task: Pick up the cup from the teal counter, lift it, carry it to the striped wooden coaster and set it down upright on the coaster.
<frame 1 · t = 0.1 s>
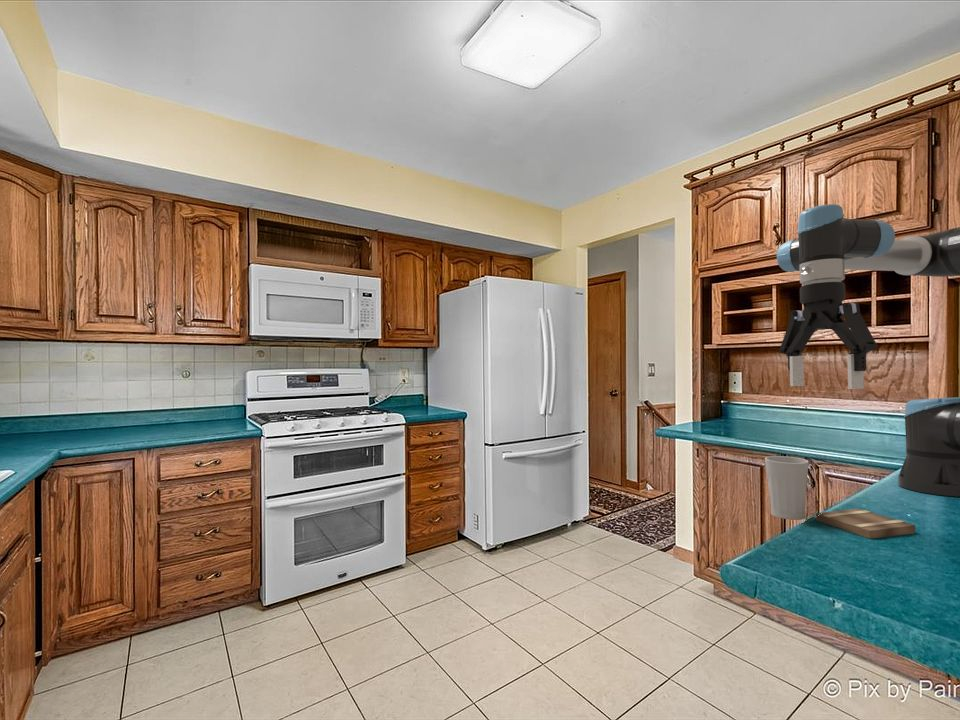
hand: (824, 387, 98), 28 cm above the countertop, fingers open, 13 cm apart
cup: (787, 516, 104), on the countertop
striped wooden coaster: (863, 526, 96), on the countertop
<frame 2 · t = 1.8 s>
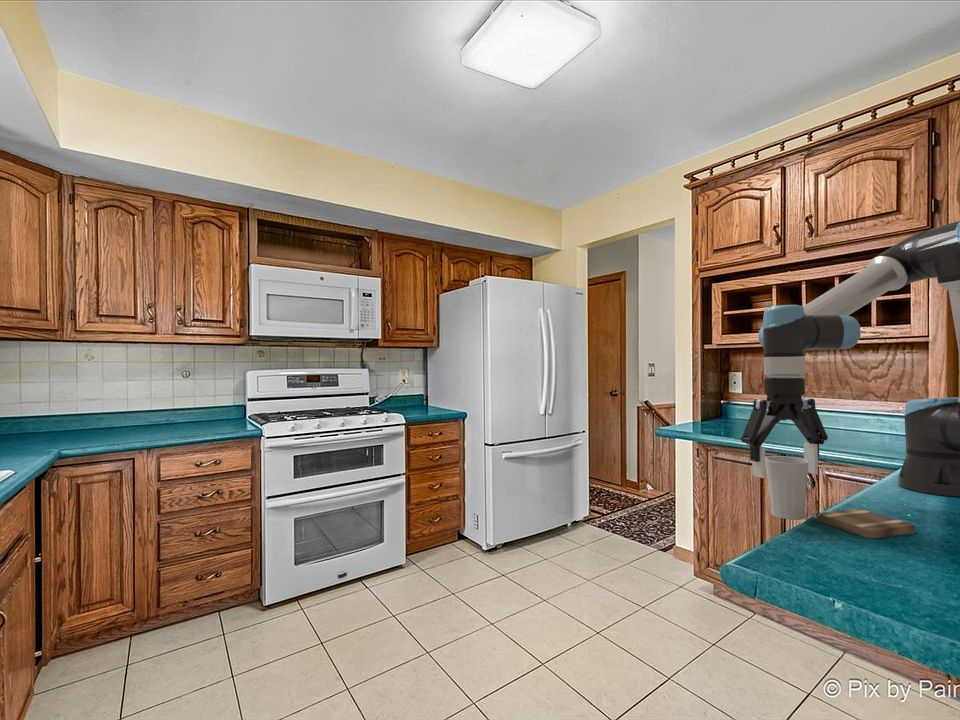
hand: (785, 475, 104), 9 cm above the countertop, fingers open, 13 cm apart
nothing on the countertop moved.
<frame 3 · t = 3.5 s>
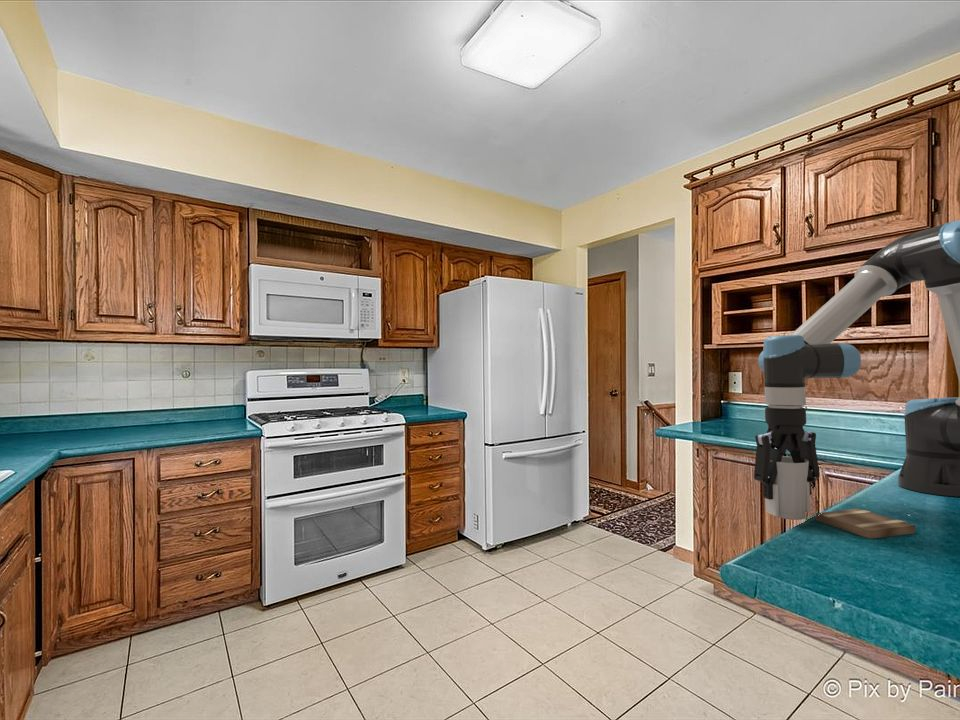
hand: (787, 512, 104), 1 cm above the countertop, fingers closed on cup, 7 cm apart
cup: (788, 516, 104), on the countertop, touching gripper
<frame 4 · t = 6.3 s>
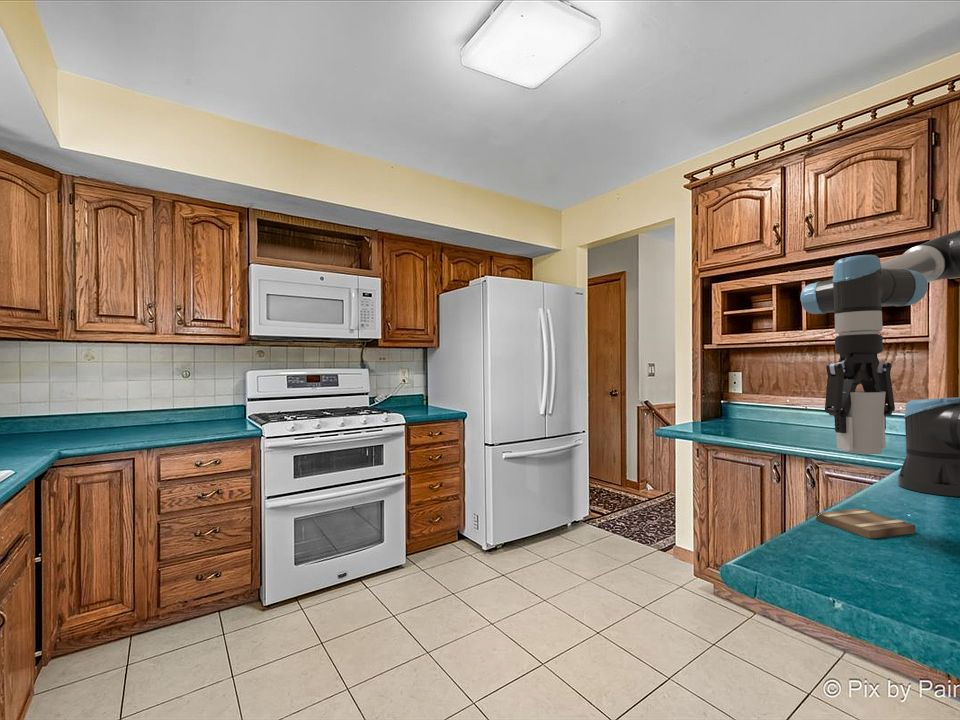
hand: (861, 448, 96), 16 cm above the countertop, fingers closed on cup, 7 cm apart
cup: (861, 452, 96), point 15 cm above the countertop, touching gripper
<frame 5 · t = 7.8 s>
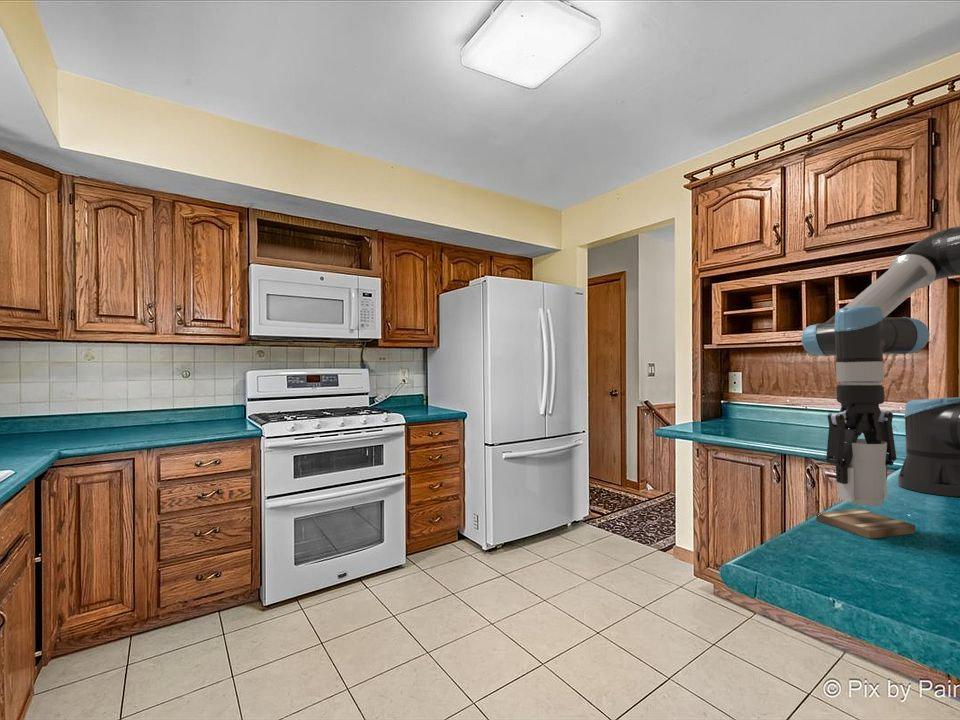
hand: (862, 497, 96), 6 cm above the countertop, fingers closed on cup, 7 cm apart
cup: (862, 502, 96), point 5 cm above the countertop, touching gripper
when the fingers open (4 cm above the countertop, at t = 9.1 s): cup drops 1 cm, resting on striped wooden coaster.
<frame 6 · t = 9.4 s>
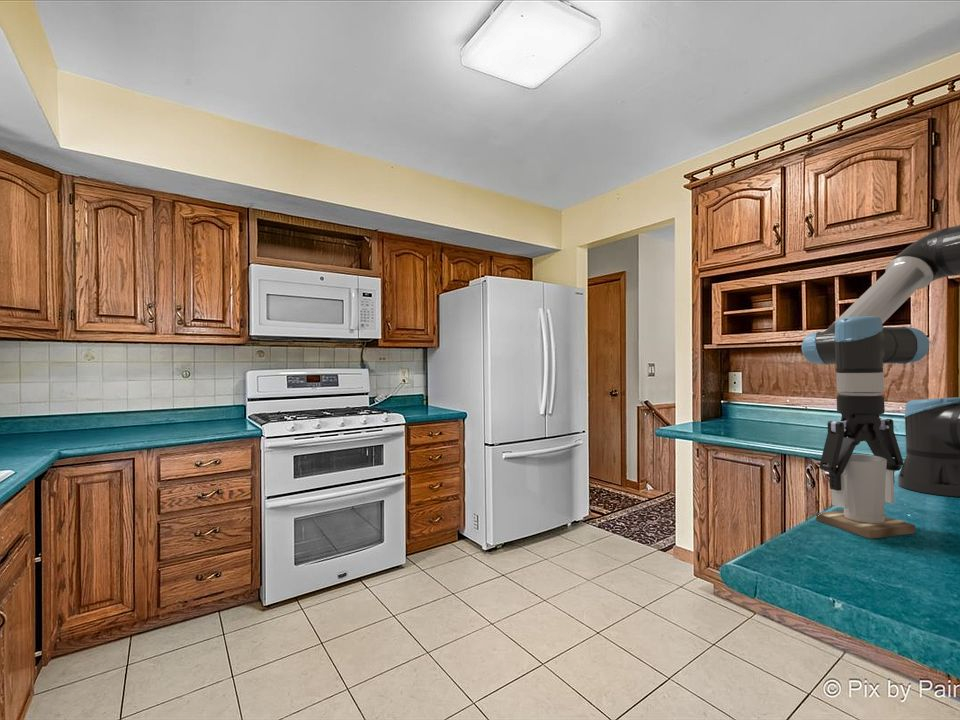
hand: (862, 503, 96), 4 cm above the countertop, fingers open, 11 cm apart
cup: (864, 518, 96), point 2 cm above the countertop, touching striped wooden coaster
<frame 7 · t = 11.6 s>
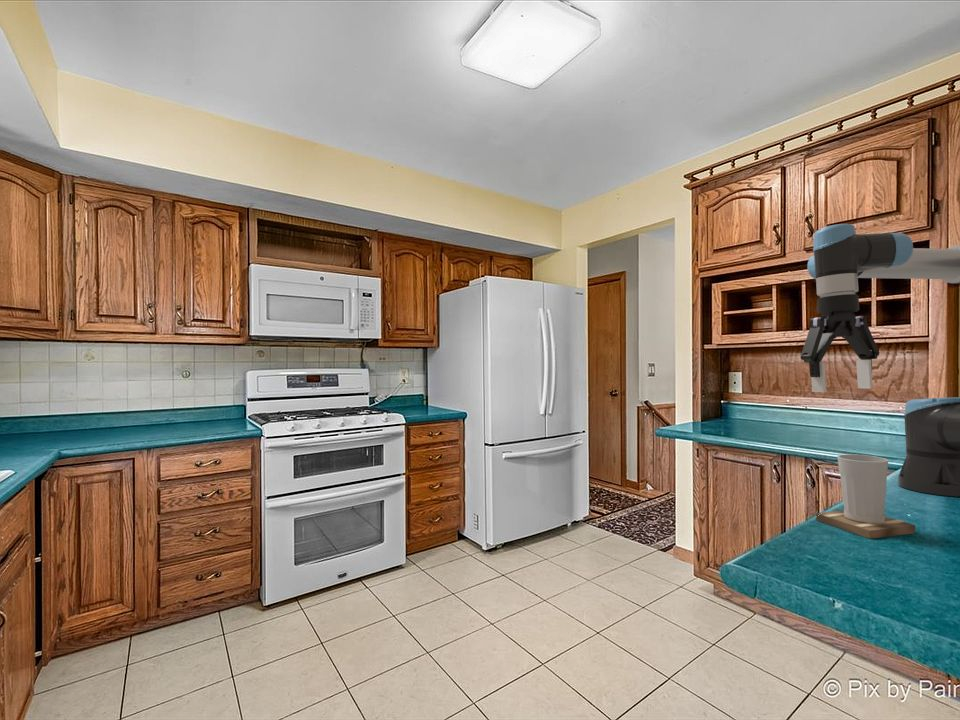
hand: (842, 390, 107), 27 cm above the countertop, fingers open, 13 cm apart
nothing on the countertop moved.
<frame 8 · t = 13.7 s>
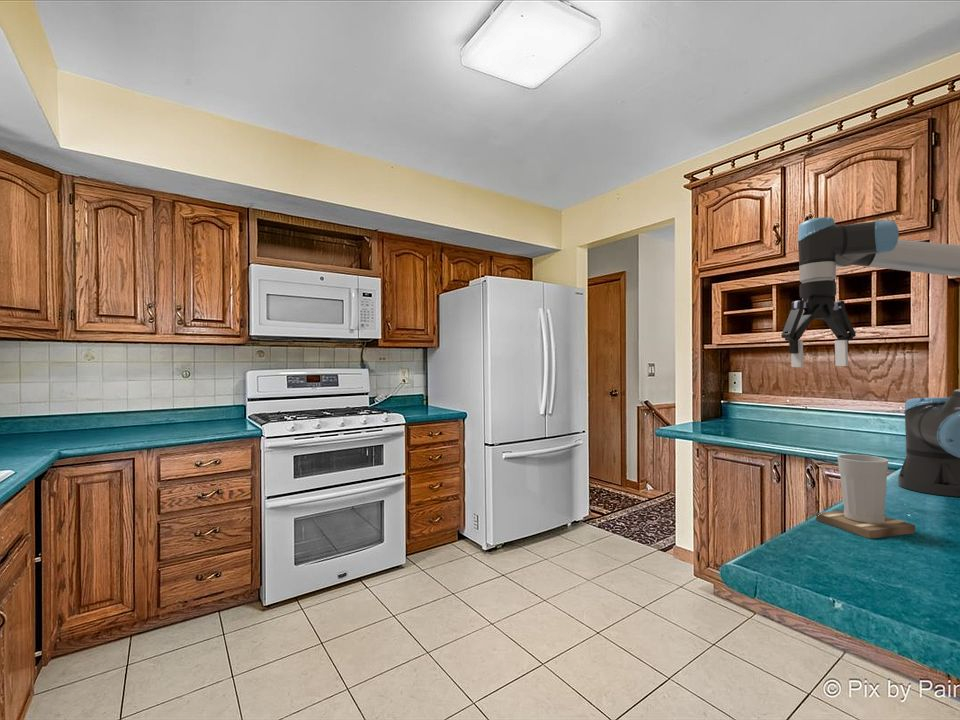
hand: (819, 366, 120), 32 cm above the countertop, fingers open, 13 cm apart
nothing on the countertop moved.
at the end: cup inside the target area on the striped wooden coaster (0.1 cm from its centre), point 1.5 cm above the striped wooden coaster's base; cup tilted 0°; the gripper is holding nothing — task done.
